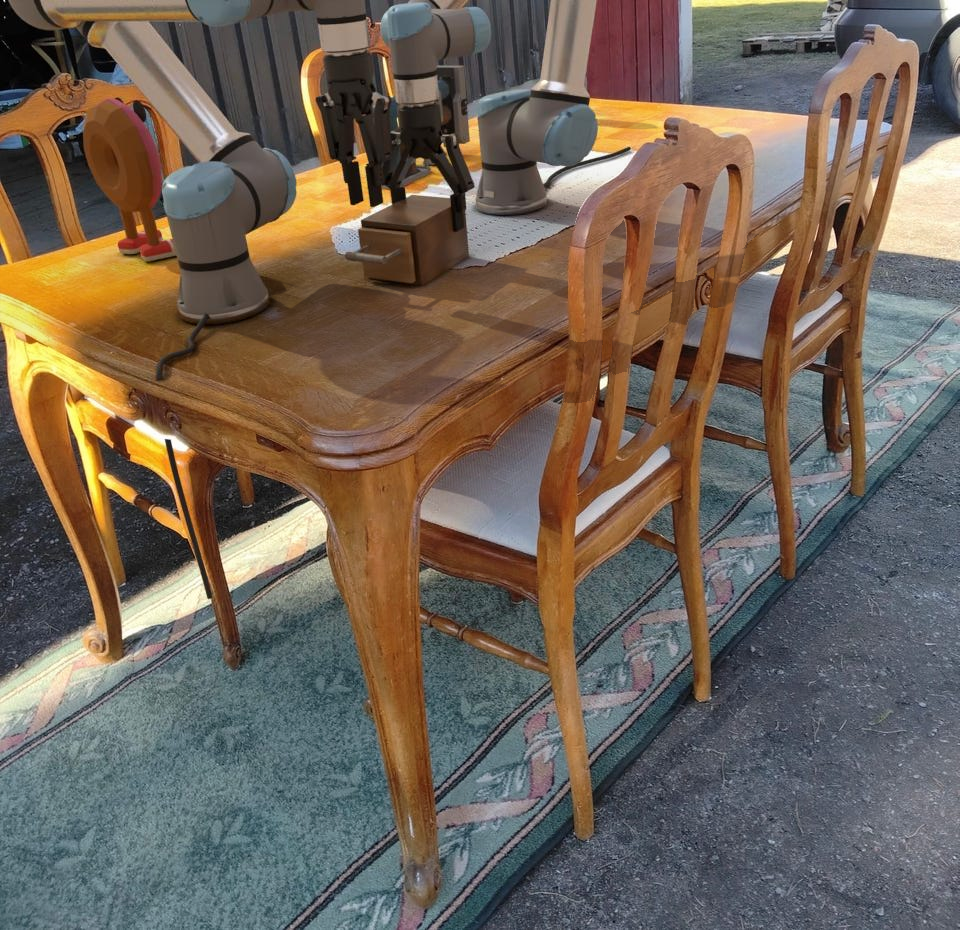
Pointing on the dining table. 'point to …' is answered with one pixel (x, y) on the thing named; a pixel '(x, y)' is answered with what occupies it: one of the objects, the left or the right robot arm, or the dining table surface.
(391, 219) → the cabinet
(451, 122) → the clamp
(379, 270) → the drawer
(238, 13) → the left robot arm
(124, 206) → the toy
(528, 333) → the dining table surface
